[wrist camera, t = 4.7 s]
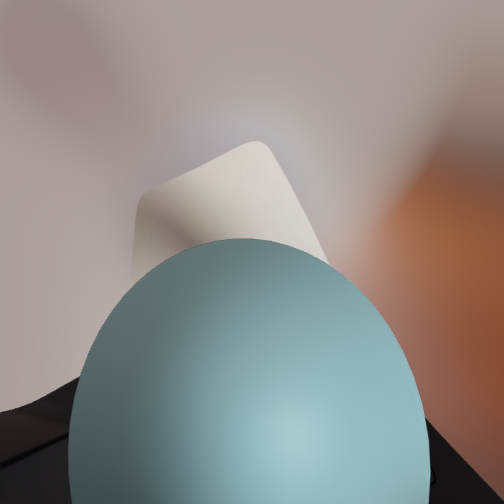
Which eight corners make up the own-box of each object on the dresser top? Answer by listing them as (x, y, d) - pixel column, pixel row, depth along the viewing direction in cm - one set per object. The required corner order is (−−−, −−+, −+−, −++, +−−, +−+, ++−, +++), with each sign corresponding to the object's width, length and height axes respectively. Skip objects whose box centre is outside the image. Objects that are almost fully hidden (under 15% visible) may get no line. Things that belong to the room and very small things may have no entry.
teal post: (318, 366, 14) (535, 626, 2) (246, 387, 14) (60, 739, 2) (292, 293, 15) (331, 203, 4) (229, 312, 16) (72, 285, 4)
